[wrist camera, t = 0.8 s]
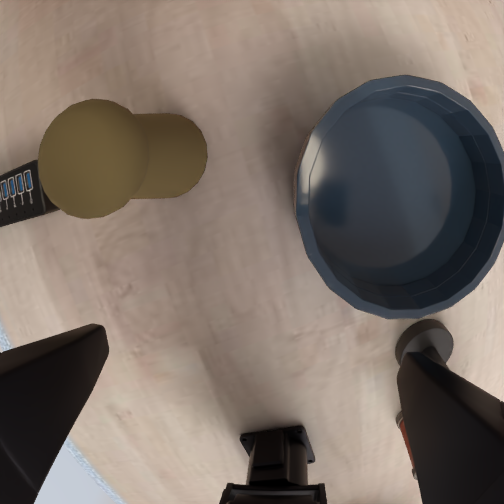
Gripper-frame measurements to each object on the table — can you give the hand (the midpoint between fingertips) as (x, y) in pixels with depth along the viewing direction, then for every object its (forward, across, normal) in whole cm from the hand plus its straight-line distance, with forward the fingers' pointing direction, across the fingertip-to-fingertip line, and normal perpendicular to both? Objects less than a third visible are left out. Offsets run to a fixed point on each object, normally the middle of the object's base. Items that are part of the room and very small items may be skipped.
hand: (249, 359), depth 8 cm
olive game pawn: (+14, +8, -6) cm, 17 cm away
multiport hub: (+14, +24, -2) cm, 28 cm away
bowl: (+14, -8, -4) cm, 17 cm away
